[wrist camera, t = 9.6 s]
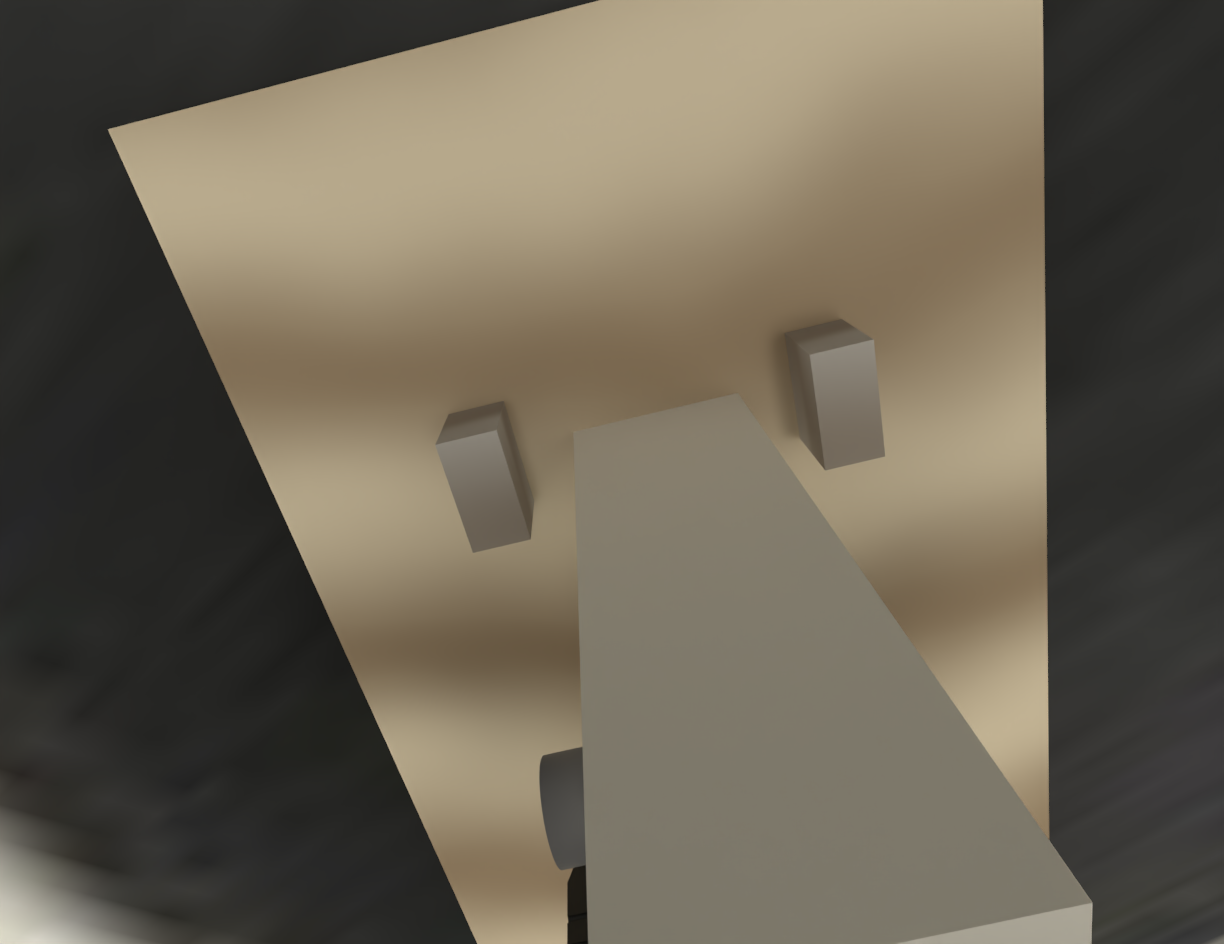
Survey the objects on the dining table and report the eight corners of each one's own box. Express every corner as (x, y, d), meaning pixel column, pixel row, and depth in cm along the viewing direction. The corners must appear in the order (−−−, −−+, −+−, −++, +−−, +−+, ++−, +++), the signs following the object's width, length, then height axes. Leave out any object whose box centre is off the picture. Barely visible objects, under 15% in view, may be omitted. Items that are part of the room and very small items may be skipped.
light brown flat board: (141, 131, 12) (45, 126, 10) (1005, -96, 12) (1110, -154, 10) (518, 988, 21) (512, 1092, 19) (1027, 882, 20) (1086, 975, 18)
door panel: (529, 442, 14) (459, 1035, 5) (737, 392, 14) (1092, 902, 4) (663, 895, 19) (760, 1636, 9) (819, 862, 18) (1073, 1580, 9)
